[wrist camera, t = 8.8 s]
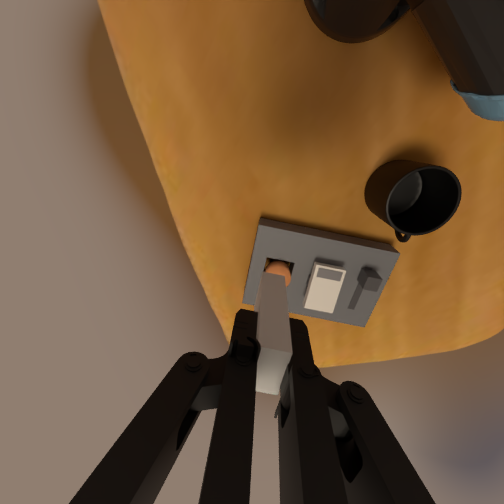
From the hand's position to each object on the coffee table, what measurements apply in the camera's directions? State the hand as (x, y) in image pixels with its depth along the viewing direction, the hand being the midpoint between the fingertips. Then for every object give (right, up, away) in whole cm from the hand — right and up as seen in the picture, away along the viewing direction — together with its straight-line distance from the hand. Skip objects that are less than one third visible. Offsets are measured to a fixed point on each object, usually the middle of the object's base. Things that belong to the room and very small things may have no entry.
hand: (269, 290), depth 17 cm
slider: (+19, -1, +27) cm, 33 cm away
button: (+4, +1, +31) cm, 32 cm away
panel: (+11, -1, +32) cm, 34 cm away
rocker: (+11, -4, +26) cm, 29 cm away
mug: (+22, +12, +26) cm, 36 cm away
